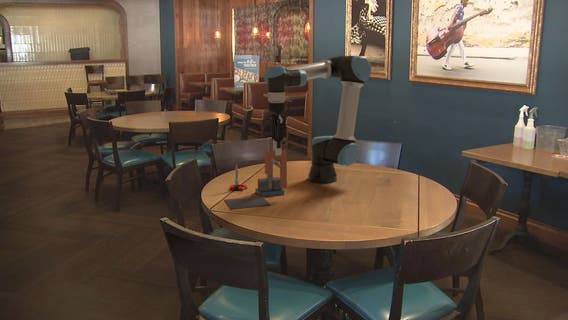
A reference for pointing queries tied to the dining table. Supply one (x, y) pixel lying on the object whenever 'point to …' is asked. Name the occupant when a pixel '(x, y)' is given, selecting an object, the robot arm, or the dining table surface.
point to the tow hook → (236, 186)
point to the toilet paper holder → (270, 183)
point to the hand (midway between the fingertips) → (277, 154)
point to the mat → (246, 202)
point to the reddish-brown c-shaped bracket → (283, 162)
